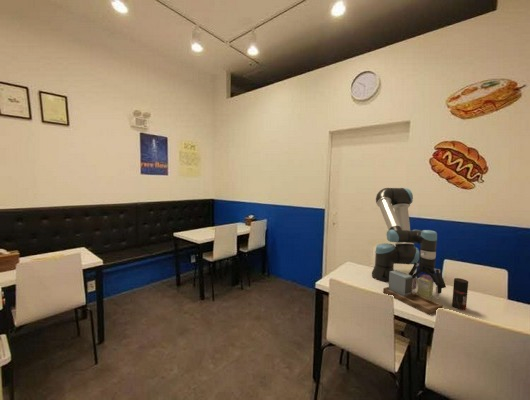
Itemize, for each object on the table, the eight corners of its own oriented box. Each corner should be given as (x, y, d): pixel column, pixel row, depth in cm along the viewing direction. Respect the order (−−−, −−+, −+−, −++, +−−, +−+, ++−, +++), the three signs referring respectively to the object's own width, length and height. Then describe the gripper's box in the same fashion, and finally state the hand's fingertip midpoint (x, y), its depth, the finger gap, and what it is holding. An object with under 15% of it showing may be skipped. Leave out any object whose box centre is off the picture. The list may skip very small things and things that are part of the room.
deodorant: (461, 311, 129) (464, 283, 127) (449, 305, 134) (451, 279, 133) (468, 309, 131) (470, 281, 130) (456, 303, 136) (458, 277, 135)
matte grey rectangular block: (388, 291, 148) (389, 271, 147) (395, 289, 151) (396, 270, 150) (405, 298, 139) (406, 278, 138) (411, 296, 141) (413, 276, 140)
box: (421, 292, 149) (422, 273, 148) (432, 296, 145) (434, 276, 144) (416, 298, 142) (417, 278, 141) (428, 302, 138) (429, 281, 137)
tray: (383, 292, 148) (383, 288, 148) (395, 289, 153) (395, 285, 153) (429, 315, 124) (430, 309, 124) (442, 310, 129) (442, 305, 129)
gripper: (403, 252, 151) (401, 286, 153) (447, 265, 129) (444, 304, 131) (410, 251, 154) (408, 284, 156) (455, 263, 132) (452, 301, 134)
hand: (425, 293), depth 143 cm, fingers open, 12 cm apart
